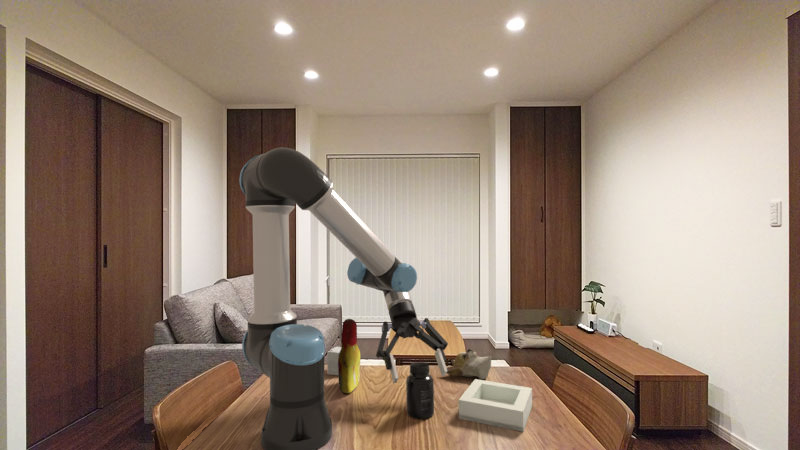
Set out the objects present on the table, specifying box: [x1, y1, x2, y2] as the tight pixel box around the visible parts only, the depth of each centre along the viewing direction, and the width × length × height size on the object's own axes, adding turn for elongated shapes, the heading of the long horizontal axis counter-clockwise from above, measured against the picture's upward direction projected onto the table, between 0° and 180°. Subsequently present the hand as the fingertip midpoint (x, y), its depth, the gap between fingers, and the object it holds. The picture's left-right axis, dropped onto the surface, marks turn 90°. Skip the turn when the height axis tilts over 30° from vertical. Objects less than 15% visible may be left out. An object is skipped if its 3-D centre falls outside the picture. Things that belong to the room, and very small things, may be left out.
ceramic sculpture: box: [446, 348, 492, 380], centre depth 123 cm, size 11×9×15 cm
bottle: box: [338, 318, 361, 394], centre depth 114 cm, size 12×6×20 cm, turn 177°
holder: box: [458, 378, 533, 433], centre depth 98 cm, size 15×15×4 cm
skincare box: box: [326, 346, 342, 376], centre depth 127 cm, size 6×6×7 cm
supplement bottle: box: [405, 361, 435, 420], centre depth 97 cm, size 7×7×12 cm
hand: (420, 377), depth 101 cm, fingers open, 13 cm apart
